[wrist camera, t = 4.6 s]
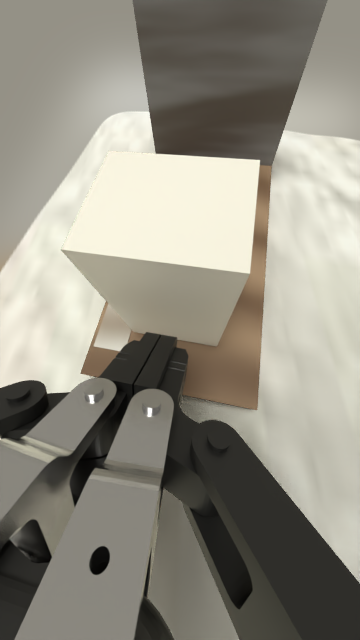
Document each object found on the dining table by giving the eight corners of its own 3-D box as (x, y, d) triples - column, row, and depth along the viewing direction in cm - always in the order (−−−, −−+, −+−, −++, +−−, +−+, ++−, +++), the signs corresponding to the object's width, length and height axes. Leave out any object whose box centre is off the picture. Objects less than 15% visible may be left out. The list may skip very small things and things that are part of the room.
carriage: (216, 346, 14) (249, 273, 6) (94, 324, 15) (-22, 239, 7) (228, 262, 16) (263, 127, 8) (121, 249, 18) (58, 119, 9)
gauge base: (250, 408, 14) (427, 439, 3) (90, 375, 16) (-131, 325, 5) (268, 150, 24) (330, -53, 13) (168, 145, 25) (149, -42, 15)
